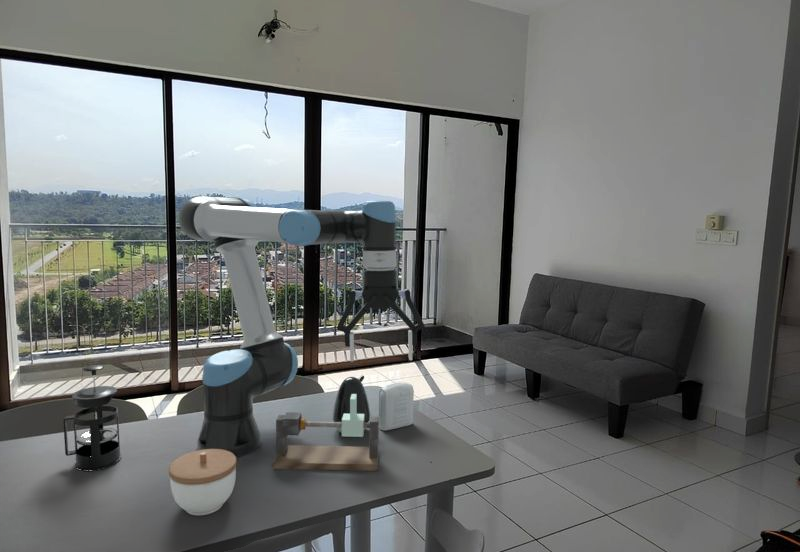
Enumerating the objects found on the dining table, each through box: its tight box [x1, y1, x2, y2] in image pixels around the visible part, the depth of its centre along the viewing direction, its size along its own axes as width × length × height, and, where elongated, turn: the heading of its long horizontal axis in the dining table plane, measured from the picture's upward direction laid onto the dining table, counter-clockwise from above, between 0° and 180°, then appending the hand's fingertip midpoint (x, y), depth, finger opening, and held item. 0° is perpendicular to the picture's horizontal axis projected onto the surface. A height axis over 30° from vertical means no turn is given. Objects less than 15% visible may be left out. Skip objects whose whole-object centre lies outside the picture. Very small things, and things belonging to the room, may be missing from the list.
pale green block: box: [341, 394, 365, 438], centre depth 123 cm, size 5×4×9 cm
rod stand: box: [272, 411, 380, 472], centre depth 124 cm, size 24×9×11 cm, turn 90°
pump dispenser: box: [332, 374, 371, 434], centre depth 140 cm, size 10×10×15 cm
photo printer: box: [378, 381, 415, 432], centre depth 144 cm, size 10×4×12 cm, turn 123°
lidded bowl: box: [168, 449, 237, 517], centre depth 104 cm, size 13×13×11 cm
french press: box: [62, 364, 122, 472], centre depth 120 cm, size 12×9×23 cm
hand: (381, 359), depth 121 cm, fingers open, 13 cm apart
